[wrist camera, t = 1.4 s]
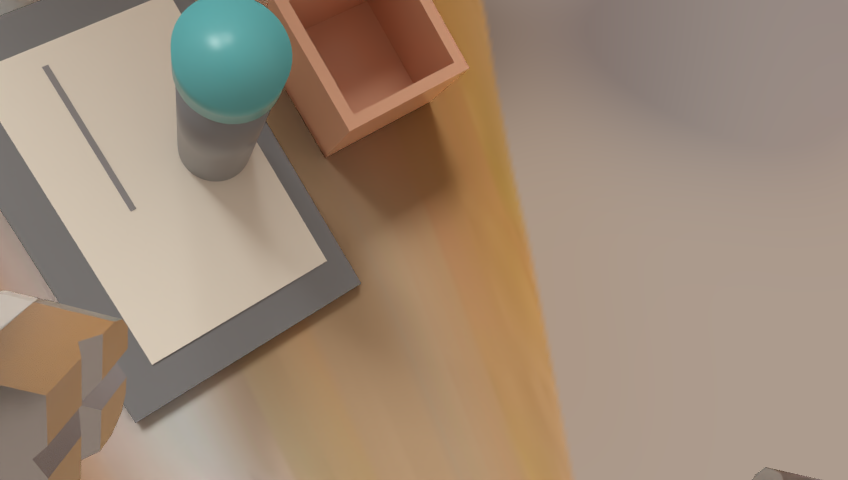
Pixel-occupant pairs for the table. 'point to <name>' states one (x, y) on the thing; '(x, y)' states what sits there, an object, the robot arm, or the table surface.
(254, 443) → the table surface
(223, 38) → the marker
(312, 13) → the pen cup
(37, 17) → the drawing board
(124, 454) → the table surface
